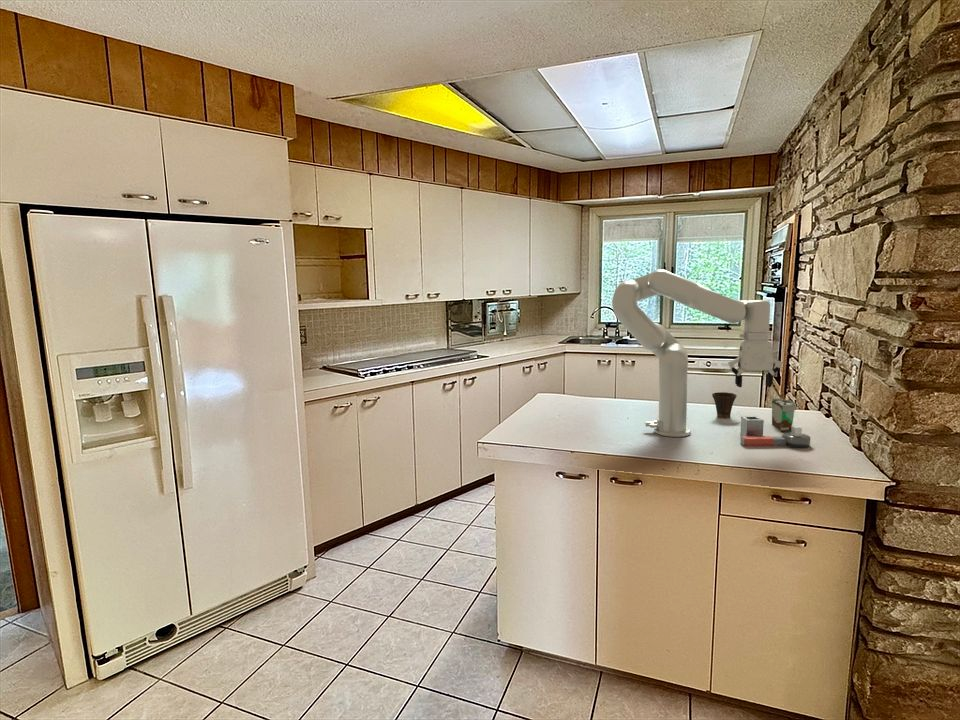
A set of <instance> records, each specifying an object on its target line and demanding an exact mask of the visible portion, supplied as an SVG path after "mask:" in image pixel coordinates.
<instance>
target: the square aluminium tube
mask: <svg viewBox="0 0 960 720" xmlns="http://www.w3.org/2000/svg"><path fill="white" fill-rule="evenodd" d="M764 422H765V421H764V419H762V418H761V417H760V416H758V415H757V416H756V415H752V416H751V415H748V416H747V415H745V416H744V415H741V416H740V432H739V433H740V437H741V436H764Z"/></svg>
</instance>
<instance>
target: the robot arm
mask: <svg viewBox="0 0 960 720" xmlns="http://www.w3.org/2000/svg"><path fill="white" fill-rule="evenodd" d="M657 295H659V296H662V297H663V298H667V299H670V300H671V301H674V302H676V303H679V304H681V305H684V306H686V307H688V308H691V309H694V310H697V311H699V312H702V313H704V314H706V315H709V316H712V317H714V318H716V319H719V320H721V321H723V322H725V323H729V324H737V323H740V322H742V321H743V322H744V326H743V327H744V328H743V332H742V333H739V338H742V339H743V340H741V341H740V342H741V343H740V346H739V350H738V357H736V358H734V359H732V360H731V361H728V362H727V365H728V367H729V369H730V371H731V372H733V374H734V376H735V380H734V381H735V382H734V383H735V385H736V387H738V388H742V386H743V376H742V374H743V373H744V372H746V371H747V372H748V371H749V372H753V371H754V372H755V371H756V372H759V371H760V372H761V371H762V372H766V374H765V382H764V383H765V384H764V385H765V386H767V387H769V388H772V385H773V383H774V376H775V375H776V373H777V372H778V371H779V370H780V368H781V366H782V364H783V362H782V361H780V360H778V359H776V358H774V353H773V351H774V350H773V345H772V341H771V340H769V337H770V320H771V319H770V318H771V302H770V301H769V300H765V299H753V300H742V299H741V300H740V299H733V298H731V297H729V296H726V295H723V294H721V293H718V292H716V291H713V290H712V289H709V288H708V287H705V285H702V284H700V283H698V282H696V281H693V280H691V279H688V278H686V277H683V276H680V275H679V274H675V273H672V272H671V271H668V270H666V269H661V268H660V269H656V270H654V271H652V272H650V273H647V274H645V275H644V274H643V275H642V276H640V277H639V276H638V277H636V278H633V279H630V280H625V281H623V282H620V283H619V284H618V286H617V287H616V289H615V290H614V293H613V296H612V300H611V303H612V311H613V313H614V315H615V317H616V318H617V321H619V323H621V325H622V326H623V327H624V328H625V329H626V330H627V331H628V332H629V334H631V336H632V337H634V339H635V340H636V341H637V342H638V343H639V344H640V346H642V348H644V350H647V351H651V352H652V354H654V356H656V358H657V359H658V418H657V417H656V420H654V421H650V420H649V421H645V422H644V426H645V427H646V428H647V427H649V428H651V429H653V431H654V433H656V434H658V435H660V436H662V437H663V436H664V437H670V438H671V437H672V438H673V437H674V438H675V437H676V438H681V437H682V438H683V437H686V436H689V435H691V433H692V430H691V429H690V428H689V427H687V411H688V410H687V409H688V408H687V407H688V406H687V405H688V402H687V401H688V366H689V357H688V356H689V355H688V352H687V350H686V348H685V347H684V346H683V345H682V343H680V341H678V340H677V339H676V338H675V337H674V336H673V335H672V333H670V332H669V331H668V329H666V327H664V326H663V325H662V324H659V323H657V322H654V321H653V320H652V319H651V318H650V317H649V316H648V315H647V314H646V313H645V312H644V311H643V310H642V309H641V308H640V307H639V305H638V303H637V302H640V301H643V300H645V299H649V298H651V297H652V298H653V297H654V296H657ZM736 364H737V368H736V367H735V365H736Z"/></svg>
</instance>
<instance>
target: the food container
mask: <svg viewBox="0 0 960 720" xmlns="http://www.w3.org/2000/svg"><path fill="white" fill-rule="evenodd" d="M796 410H797V404H796V402H795V401H793V400H789V399H785V398H771V426H772V427H774V428H775V430H778V431H779V432H780V433H790V432H791V429H792V426H793V424H794V416H795V411H796Z"/></svg>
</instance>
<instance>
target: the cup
mask: <svg viewBox="0 0 960 720" xmlns="http://www.w3.org/2000/svg"><path fill="white" fill-rule="evenodd" d="M711 396H712V398H713V400H714V405H715V409H716V417H717V418H718V419H731V413H732V409H733V404H734V402H735V400H736V398H737V394H736V393H733V392H728V391H727V392H725V391H722V392H721V391H720V392H714V393H711Z"/></svg>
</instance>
